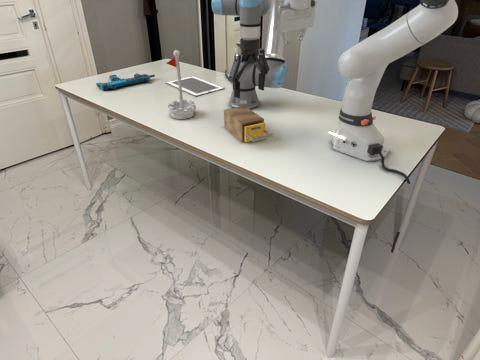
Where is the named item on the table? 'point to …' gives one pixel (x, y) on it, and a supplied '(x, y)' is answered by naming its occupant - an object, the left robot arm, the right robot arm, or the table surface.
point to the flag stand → (180, 95)
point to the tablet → (195, 86)
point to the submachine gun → (123, 81)
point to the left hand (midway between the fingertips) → (249, 93)
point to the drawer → (255, 132)
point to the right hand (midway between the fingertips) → (293, 42)
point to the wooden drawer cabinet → (239, 120)
